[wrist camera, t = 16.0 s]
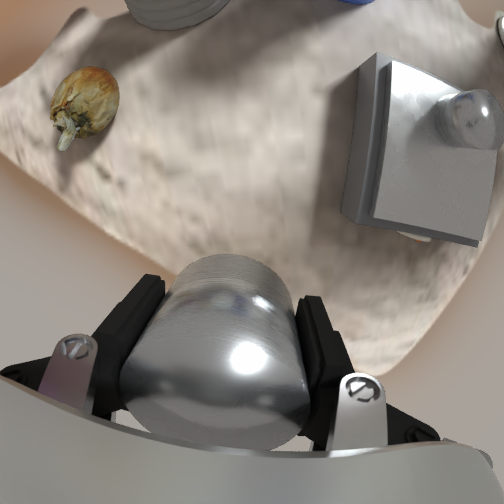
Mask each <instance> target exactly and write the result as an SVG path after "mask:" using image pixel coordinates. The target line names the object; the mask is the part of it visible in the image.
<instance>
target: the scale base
mask: <svg viewBox="0 0 504 504" xmlns="http://www.w3.org/2000/svg"><path fill="white" fill-rule="evenodd" d="M391 61H395V62H397V63H400V64H402V65H405V66H407V67H410V68H412V69H415V70H417V71H419V72H422V73H424V74H426V75H429V76H431V77H433V78H435V79H437V80H439V81H441V82H443V83H445V84H447V85H449V86H451V87H453V88H455V89H457V90H459V91H461V92H465V91H464V90H462V89H461V88H459V87H457V86H455V85H453V84H451V83H449V82H447V81H445V80H443V79H441V78H439V77H437V76H435V75H433V74H431V73H429V72H427V71H424V70H422V69H420V68H418V67H415V66H413V65H410V64H408V63H406V62H403V61H400V60H398V59H395V58H392V57H390V56H387V55H384V54H381V53H378V52H376V53H375V54H374V55H372V56H371V57H370V58H369V59H367V60H366V61H365V62H364V63H363V64H361V65H360V66H359V75H358V87H357V98H356V108H355V117H354V126H353V134H352V142H351V149H350V156H349V163H348V170H347V176H346V182H345V188H344V194H343V200H342V205H341V211H340V212H341V213H342V214H344V215H345V216H346V217H348V218H349V219H350V220H352V221H353V222H354V223H356V224H361V225H367V226H373V227H379V228H384V229H390V230H395V231H397V232H399V233H400V234H402V235H405V236H407V237H410V238H413V239H414V240H416V241H417V242H421V241H425V242H430V241H431V238H436V239H440V240H445V241H450V242H454V243H459V244H463V245H468V246H472V247H478V243H479V241H478V240H474V239H470V238H466V237H462V236H458V235H454V234H450V233H445V232H441V231H437V230H432V229H428V228H423V227H419V226H414V225H409V224H404V223H399V222H394V221H389V220H384V219H379V218H374V217H372V216H370V215H369V209H370V204H371V199H372V194H373V188H374V182H375V176H376V170H377V164H378V157H379V150H380V142H381V134H382V125H383V116H384V105H385V92H386V75H387V64H388V63H390V62H391Z"/></svg>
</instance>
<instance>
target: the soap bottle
mask: <svg viewBox="0 0 504 504" xmlns="http://www.w3.org/2000/svg"><path fill="white" fill-rule="evenodd" d="M229 1H230V0H125V2H126V4H127V7H128V9H129V11H130V13H131V14H132V16H133V17H134V19H135V20H136V22H137V23H139V24H142V25H144V26H146V27H148V28H151V29H156V30H176V29H180V28H184V27H189V26H193V25H196V24H198V23H200V22H202V21H204V20H206V19H208V18H210V17H212V16H214V15H215V14H216V13H217V12H218V11H219V10H220V9H221V8H223V7H224V6H225V5H226V4H227V3H228V2H229Z"/></svg>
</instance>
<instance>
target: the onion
mask: <svg viewBox="0 0 504 504" xmlns="http://www.w3.org/2000/svg"><path fill="white" fill-rule="evenodd" d="M119 97H120V94H119V87H118V84H117V81H116V80H115V78H114V77H113V76H112V75H111V74H110V73H109V72H108V71H106V70H104V69H102V68H98V67H90V66H89V67H84V68H81V69H79V70H77V71H75V72H73V73H71V74H70V75H69V76H67V77H66V78H65V79H64V80H63V81H62V82H61V84H60V85H59V87H58V88H57V90H56V92H55V94H54V97H52V102H51V114H50V119H51V120H54V122H55V123H54V125H53V127H55V126H57V129H58V130H59V131H60V132H61V133H62V134H61V137H60V140H59V144H58V145H57V147H56V148H57V149H58V150H60V151H66V150H67V149H68V147H69V145H70V143H71V142H72V141H73V139H74V138H86V137H89V136H93V135H96V134H97V133H98V132H100V131H101V130H103V129H104V128H105V127H106V126H107V125H108V123H110V122H111V121H112V119H113V118H114V116H115V114H116V112H117V110H118V106H119Z"/></svg>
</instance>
